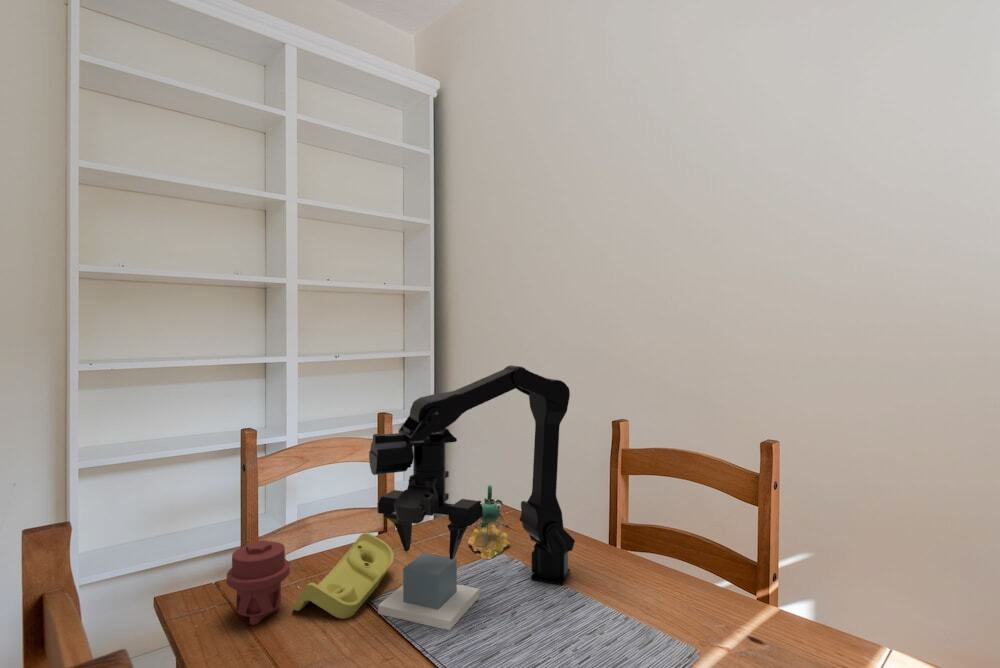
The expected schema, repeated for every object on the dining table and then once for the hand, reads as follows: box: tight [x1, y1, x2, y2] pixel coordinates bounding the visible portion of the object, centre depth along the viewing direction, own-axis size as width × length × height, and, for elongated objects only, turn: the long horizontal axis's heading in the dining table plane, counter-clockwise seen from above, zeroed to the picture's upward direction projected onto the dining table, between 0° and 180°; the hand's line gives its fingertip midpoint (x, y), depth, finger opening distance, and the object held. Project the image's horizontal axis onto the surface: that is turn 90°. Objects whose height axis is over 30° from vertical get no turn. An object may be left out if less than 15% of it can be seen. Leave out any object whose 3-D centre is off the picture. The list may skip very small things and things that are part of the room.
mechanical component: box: [226, 539, 291, 626], centre depth 93 cm, size 12×10×10 cm
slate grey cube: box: [402, 552, 458, 610], centre depth 96 cm, size 7×7×6 cm
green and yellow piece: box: [467, 484, 511, 560], centre depth 124 cm, size 10×18×15 cm, turn 177°
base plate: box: [377, 583, 480, 631], centre depth 96 cm, size 14×12×4 cm
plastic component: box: [292, 531, 395, 620], centre depth 102 cm, size 20×8×10 cm
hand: (429, 554), depth 96 cm, fingers open, 9 cm apart
